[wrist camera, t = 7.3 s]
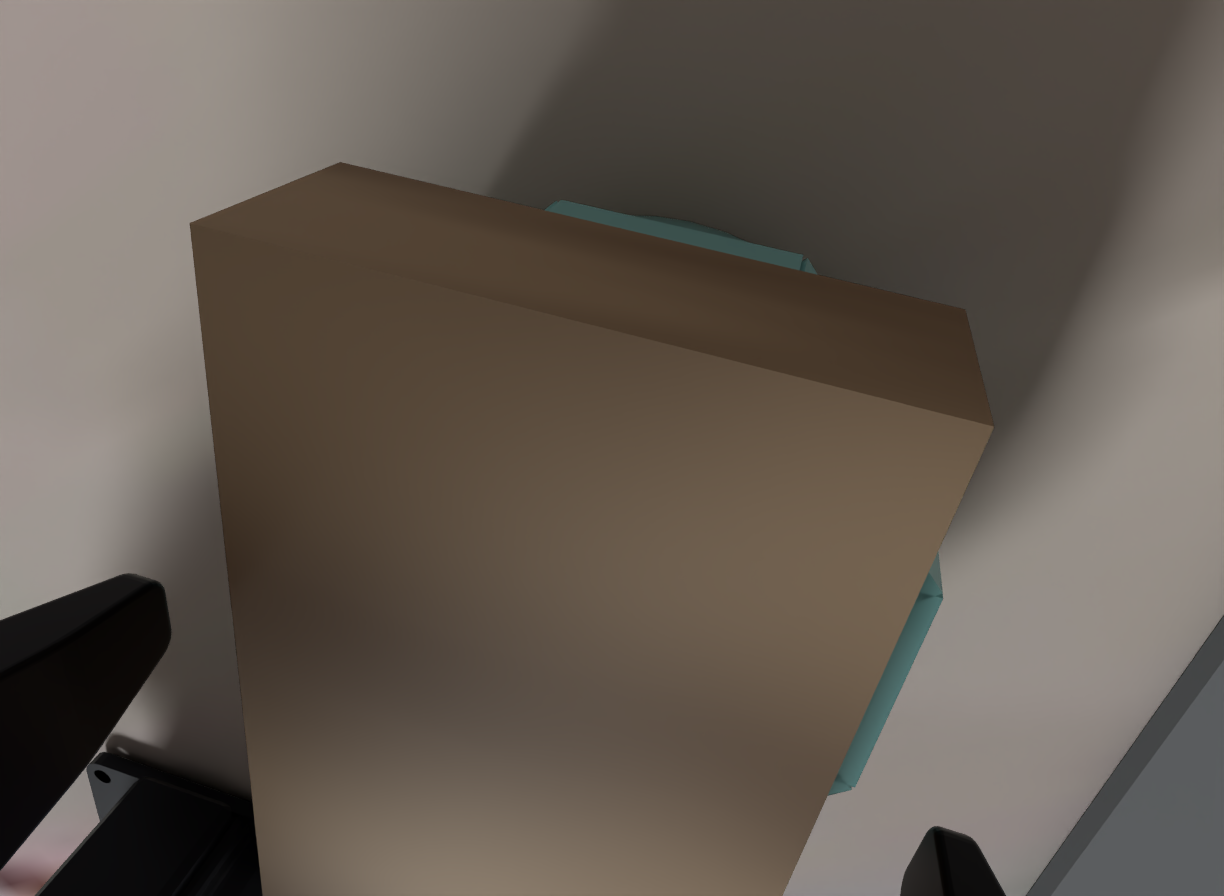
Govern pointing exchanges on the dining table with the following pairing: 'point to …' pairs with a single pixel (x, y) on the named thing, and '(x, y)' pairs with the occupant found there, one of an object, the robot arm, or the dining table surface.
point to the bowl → (932, 585)
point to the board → (558, 537)
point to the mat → (1158, 802)
